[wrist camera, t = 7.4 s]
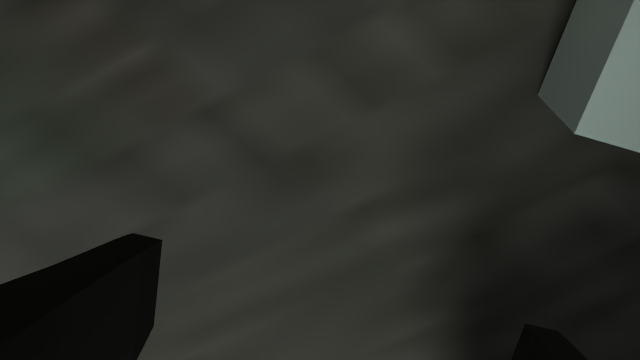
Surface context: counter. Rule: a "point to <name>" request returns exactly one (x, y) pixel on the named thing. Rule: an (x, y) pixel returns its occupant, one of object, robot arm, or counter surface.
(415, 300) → the counter surface
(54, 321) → the robot arm
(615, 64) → the notched plate
